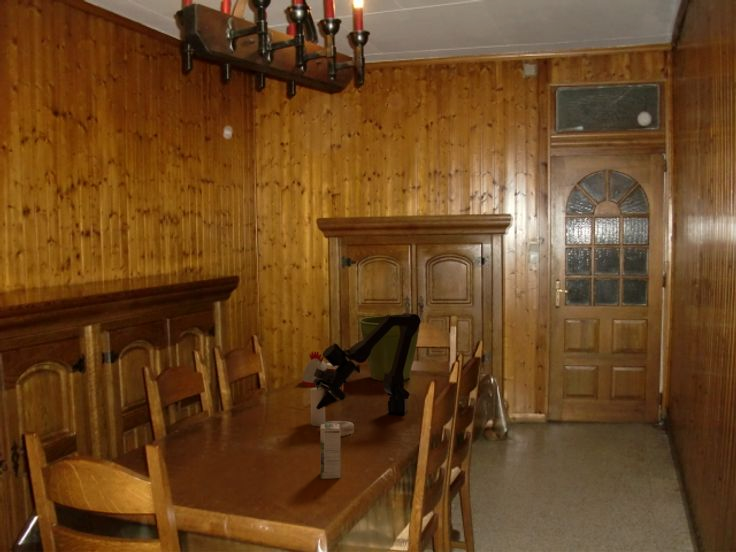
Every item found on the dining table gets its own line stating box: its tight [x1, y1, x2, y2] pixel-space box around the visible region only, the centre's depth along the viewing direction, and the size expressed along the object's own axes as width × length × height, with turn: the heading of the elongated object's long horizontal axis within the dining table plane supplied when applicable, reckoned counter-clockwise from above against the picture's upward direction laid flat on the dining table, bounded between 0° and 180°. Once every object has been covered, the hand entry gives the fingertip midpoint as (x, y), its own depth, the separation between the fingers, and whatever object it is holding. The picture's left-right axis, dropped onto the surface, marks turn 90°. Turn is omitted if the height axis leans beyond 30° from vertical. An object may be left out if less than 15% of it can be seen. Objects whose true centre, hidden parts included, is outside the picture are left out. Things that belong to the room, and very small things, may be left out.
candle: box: [310, 387, 326, 427], centre depth 250 cm, size 5×5×14 cm
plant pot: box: [358, 315, 422, 382], centre depth 329 cm, size 30×30×29 cm
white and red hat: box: [301, 351, 327, 387], centre depth 321 cm, size 14×14×15 cm
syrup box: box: [319, 423, 342, 480], centre depth 196 cm, size 6×6×14 cm
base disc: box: [319, 420, 355, 437], centre depth 240 cm, size 12×12×2 cm
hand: (314, 407), depth 249 cm, fingers closed on candle, 5 cm apart
